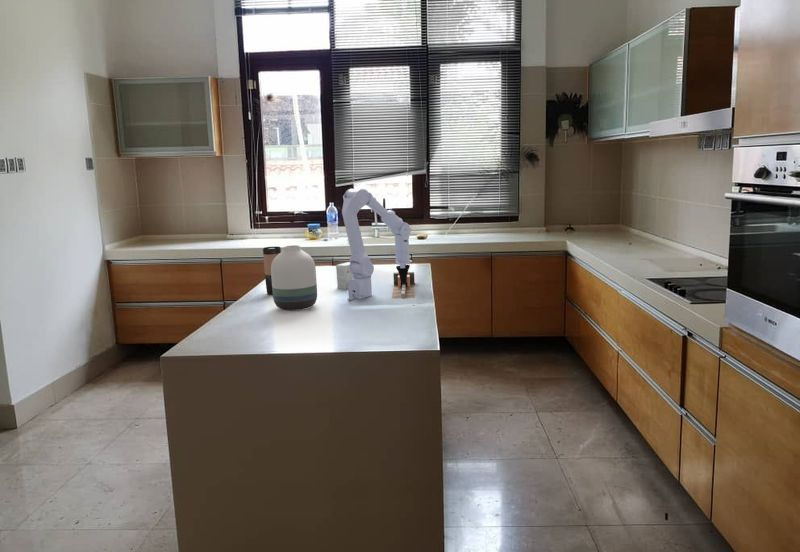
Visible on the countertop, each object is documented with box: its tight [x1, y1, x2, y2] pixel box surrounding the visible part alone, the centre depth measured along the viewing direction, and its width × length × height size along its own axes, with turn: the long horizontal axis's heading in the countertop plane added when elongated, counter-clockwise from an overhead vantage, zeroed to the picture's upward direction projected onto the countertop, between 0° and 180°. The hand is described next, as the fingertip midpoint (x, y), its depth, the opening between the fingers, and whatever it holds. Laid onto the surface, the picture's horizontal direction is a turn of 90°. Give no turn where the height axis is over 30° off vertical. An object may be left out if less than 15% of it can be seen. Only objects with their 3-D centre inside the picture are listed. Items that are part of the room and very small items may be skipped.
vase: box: [271, 244, 318, 311], centre depth 246 cm, size 17×17×24 cm
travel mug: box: [262, 246, 282, 296], centre depth 278 cm, size 8×8×20 cm
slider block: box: [398, 275, 410, 288], centre depth 275 cm, size 6×5×4 cm
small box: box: [335, 261, 353, 290], centre depth 285 cm, size 8×6×10 cm
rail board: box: [391, 271, 416, 300], centre depth 267 cm, size 32×9×6 cm, turn 179°
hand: (403, 282), depth 271 cm, fingers closed
